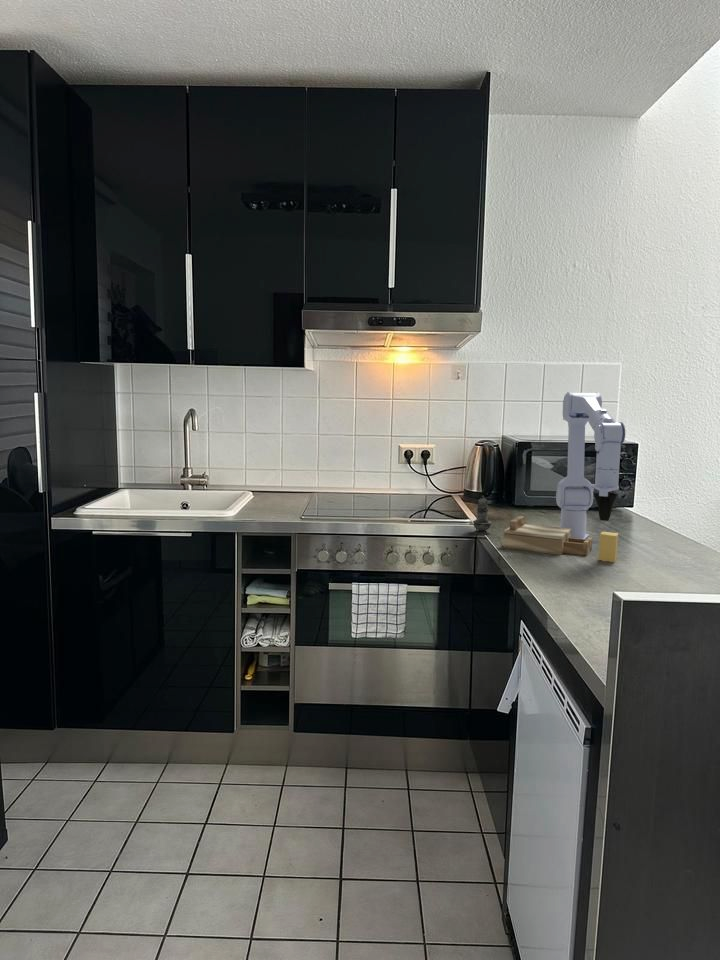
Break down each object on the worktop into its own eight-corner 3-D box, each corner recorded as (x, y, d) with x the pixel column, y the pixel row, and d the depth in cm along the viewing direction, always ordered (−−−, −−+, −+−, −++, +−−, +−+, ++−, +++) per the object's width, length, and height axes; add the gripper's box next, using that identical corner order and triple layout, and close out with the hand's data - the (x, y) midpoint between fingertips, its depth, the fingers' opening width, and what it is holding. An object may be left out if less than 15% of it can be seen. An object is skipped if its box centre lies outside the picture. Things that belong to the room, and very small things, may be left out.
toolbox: (515, 539, 196) (516, 526, 195) (593, 548, 185) (594, 534, 185) (503, 547, 185) (503, 533, 184) (584, 557, 174) (585, 543, 173)
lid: (516, 525, 195) (516, 514, 195) (571, 531, 188) (572, 520, 187) (503, 533, 184) (504, 521, 184) (561, 539, 176) (562, 527, 176)
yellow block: (600, 557, 175) (602, 531, 174) (616, 559, 173) (618, 533, 172) (598, 560, 171) (600, 534, 170) (614, 562, 169) (616, 535, 168)
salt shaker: (478, 530, 209) (479, 493, 208) (494, 532, 206) (496, 495, 204) (468, 533, 205) (469, 495, 203) (485, 535, 201) (486, 497, 200)
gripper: (594, 465, 178) (591, 514, 180) (587, 470, 165) (585, 523, 167) (622, 467, 175) (619, 516, 177) (617, 472, 162) (614, 525, 164)
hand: (604, 520), depth 172 cm, fingers closed
